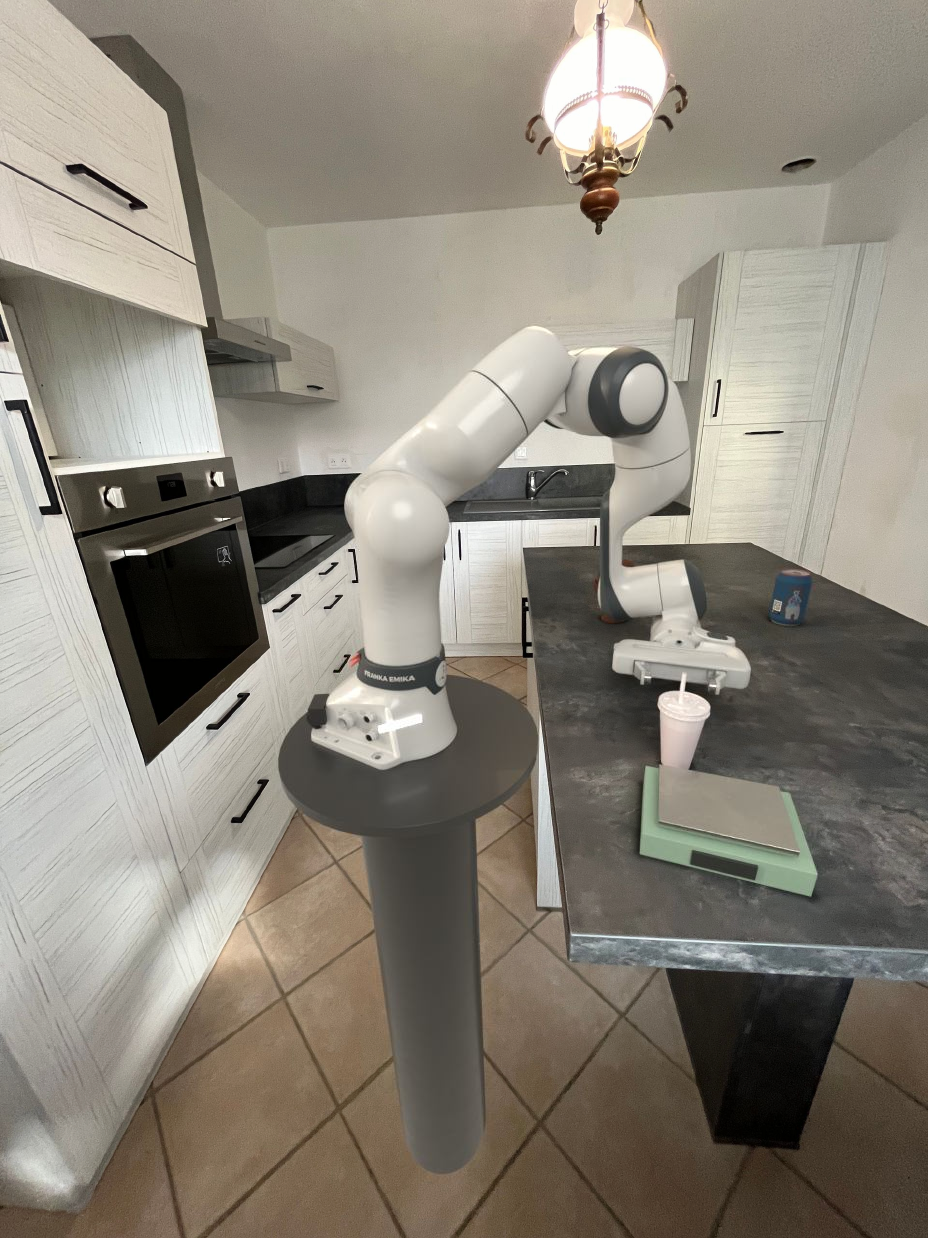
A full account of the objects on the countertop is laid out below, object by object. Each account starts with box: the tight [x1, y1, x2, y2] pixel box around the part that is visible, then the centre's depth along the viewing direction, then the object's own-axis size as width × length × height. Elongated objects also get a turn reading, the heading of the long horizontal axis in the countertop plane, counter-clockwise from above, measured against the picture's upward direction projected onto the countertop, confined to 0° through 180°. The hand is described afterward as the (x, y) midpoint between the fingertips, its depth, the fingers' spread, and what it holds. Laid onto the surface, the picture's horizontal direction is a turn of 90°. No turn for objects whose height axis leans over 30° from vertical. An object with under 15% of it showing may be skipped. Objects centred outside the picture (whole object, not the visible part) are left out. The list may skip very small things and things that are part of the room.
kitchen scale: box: [639, 765, 819, 898], centre depth 55 cm, size 16×12×3 cm
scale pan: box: [658, 763, 800, 858], centre depth 54 cm, size 13×10×1 cm
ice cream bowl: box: [591, 558, 636, 624], centre depth 116 cm, size 11×11×15 cm
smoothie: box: [657, 672, 711, 770], centre depth 65 cm, size 6×6×14 cm
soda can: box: [768, 568, 813, 627], centre depth 112 cm, size 7×7×12 cm
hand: (679, 685), depth 73 cm, fingers open, 8 cm apart
